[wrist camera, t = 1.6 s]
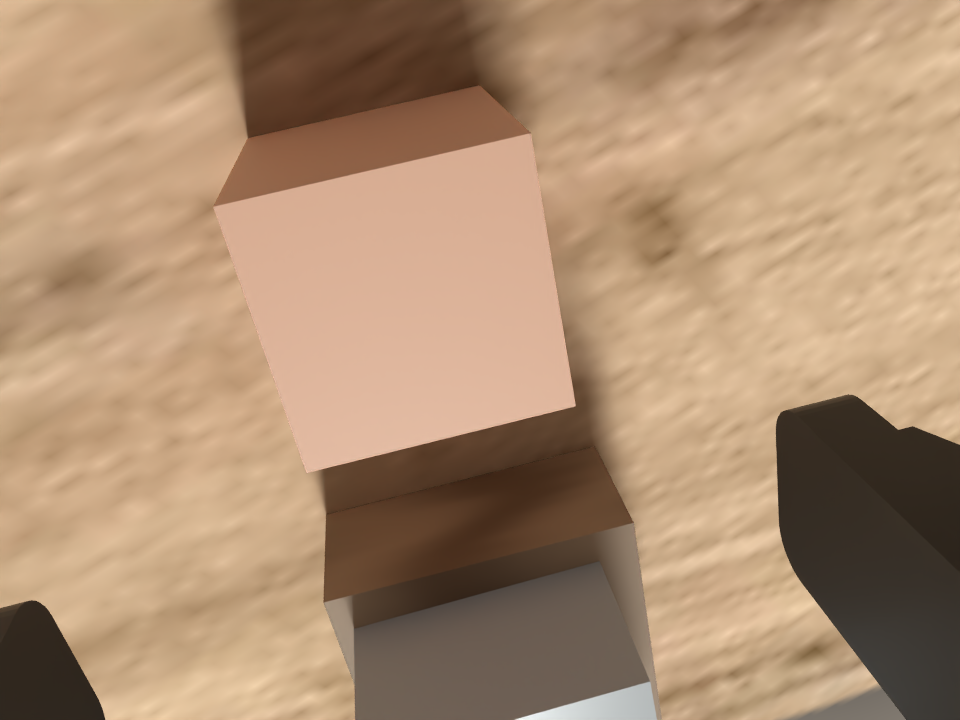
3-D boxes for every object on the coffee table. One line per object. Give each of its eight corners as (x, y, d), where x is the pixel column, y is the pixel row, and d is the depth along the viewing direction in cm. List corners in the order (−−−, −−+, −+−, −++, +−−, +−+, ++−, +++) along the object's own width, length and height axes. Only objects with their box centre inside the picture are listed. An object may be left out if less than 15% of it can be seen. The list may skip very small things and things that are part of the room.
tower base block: (591, 440, 25) (633, 522, 21) (623, 636, 28) (663, 734, 25) (326, 507, 24) (323, 602, 21) (392, 697, 28) (400, 805, 25)
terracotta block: (479, 84, 20) (530, 133, 14) (519, 297, 22) (575, 406, 17) (248, 137, 19) (213, 206, 14) (314, 346, 22) (306, 473, 17)
